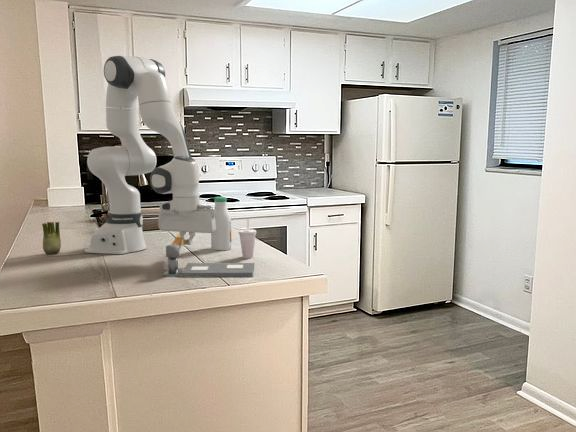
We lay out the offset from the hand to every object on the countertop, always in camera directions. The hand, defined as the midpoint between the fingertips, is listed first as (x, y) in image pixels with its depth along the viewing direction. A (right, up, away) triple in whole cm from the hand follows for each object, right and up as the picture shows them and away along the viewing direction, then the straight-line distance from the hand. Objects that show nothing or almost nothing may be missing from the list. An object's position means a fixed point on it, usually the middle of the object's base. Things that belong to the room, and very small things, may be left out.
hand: (187, 244), depth 174 cm
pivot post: (-2, -8, -15) cm, 17 cm away
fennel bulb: (-52, -4, +12) cm, 54 cm away
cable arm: (-2, -1, -6) cm, 7 cm away
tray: (+12, -8, -12) cm, 19 cm away
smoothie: (+20, -5, +7) cm, 22 cm away
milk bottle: (+9, -3, +21) cm, 23 cm away
